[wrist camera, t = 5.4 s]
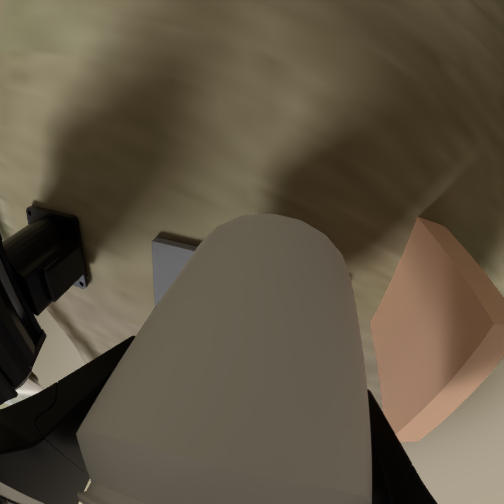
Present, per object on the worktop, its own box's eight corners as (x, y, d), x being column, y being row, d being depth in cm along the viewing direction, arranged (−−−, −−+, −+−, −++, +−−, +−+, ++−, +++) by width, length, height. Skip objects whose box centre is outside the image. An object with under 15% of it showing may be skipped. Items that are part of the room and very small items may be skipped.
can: (217, 181, 12) (-15, 450, 2) (376, 243, 12) (446, 549, 2) (185, 306, 16) (83, 503, 5) (308, 350, 16) (283, 560, 5)
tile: (369, 323, 18) (386, 442, 10) (417, 216, 14) (494, 324, 6) (399, 328, 18) (423, 440, 10) (449, 227, 14) (529, 329, 6)
